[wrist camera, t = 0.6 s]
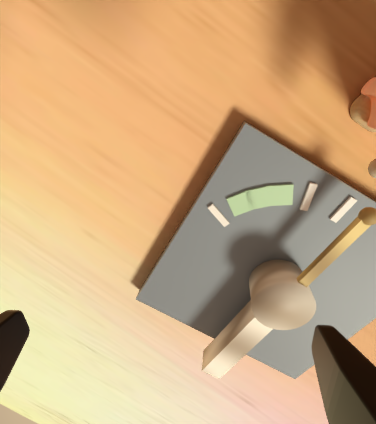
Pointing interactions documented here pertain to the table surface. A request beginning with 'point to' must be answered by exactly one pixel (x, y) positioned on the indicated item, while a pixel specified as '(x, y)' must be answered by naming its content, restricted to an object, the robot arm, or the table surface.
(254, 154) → the grey flat square plate
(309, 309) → the beige dial pointer lever
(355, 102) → the grandmother figurine
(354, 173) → the table surface
